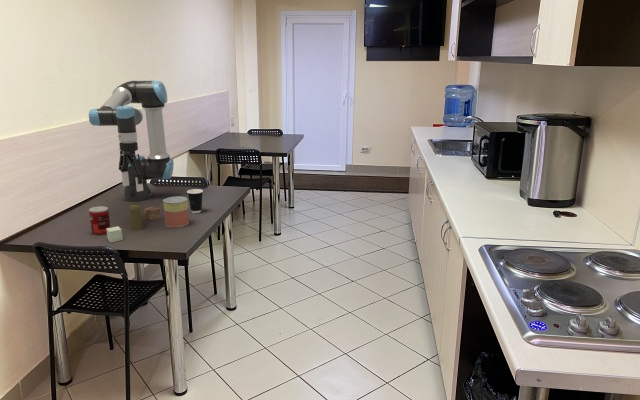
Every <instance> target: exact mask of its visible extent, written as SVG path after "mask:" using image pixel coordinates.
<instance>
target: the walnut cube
mask: <svg viewBox="0 0 640 400" xmlns="http://www.w3.org/2000/svg"><path fill="white" fill-rule="evenodd" d="M143 213H144V219H145V220H149V221H155V220H157V219H160V218H161V211H160V208H159V207H155V206H150V207H147V208H144V211H143Z"/></svg>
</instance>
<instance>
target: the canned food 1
mask: <svg viewBox="0 0 640 400" xmlns="http://www.w3.org/2000/svg"><path fill="white" fill-rule="evenodd" d="M88 214H89V219H90V220H89V221H90V229H91V232H92V234H94V235H98V236H99V235H107V230H106V228H111V221H110V213H109V207H107V206H104V205H103V206H102V205H101V206H93V207H91V208H89V209H88Z"/></svg>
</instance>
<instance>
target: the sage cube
mask: <svg viewBox="0 0 640 400" xmlns="http://www.w3.org/2000/svg"><path fill="white" fill-rule="evenodd" d="M106 230H107V233H106V238H107V240H108V241H109V243H115V242H120V240H121V241H123V240H124V239H123V231H122V228H120V226H119V225H118V226H113V227H110V228H106Z"/></svg>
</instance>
